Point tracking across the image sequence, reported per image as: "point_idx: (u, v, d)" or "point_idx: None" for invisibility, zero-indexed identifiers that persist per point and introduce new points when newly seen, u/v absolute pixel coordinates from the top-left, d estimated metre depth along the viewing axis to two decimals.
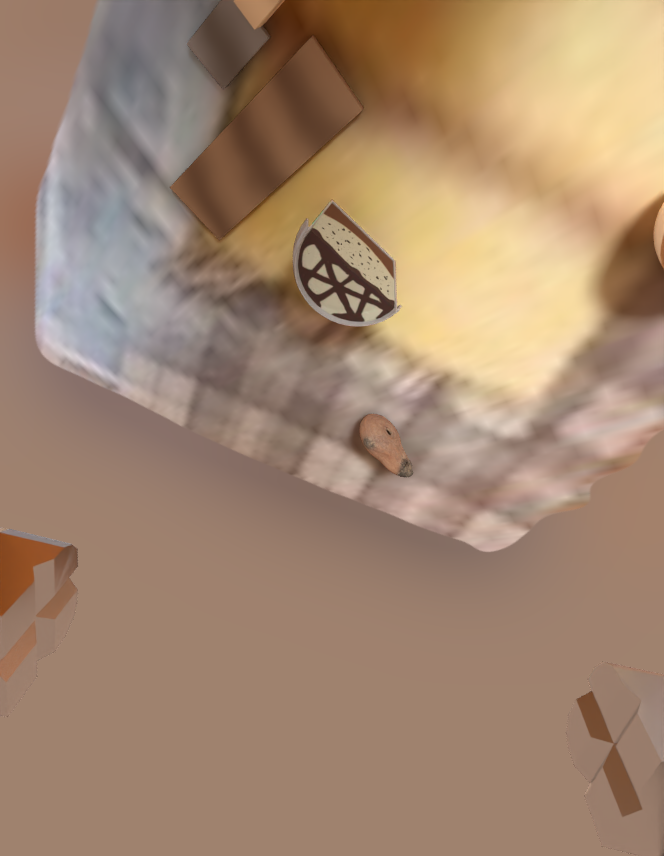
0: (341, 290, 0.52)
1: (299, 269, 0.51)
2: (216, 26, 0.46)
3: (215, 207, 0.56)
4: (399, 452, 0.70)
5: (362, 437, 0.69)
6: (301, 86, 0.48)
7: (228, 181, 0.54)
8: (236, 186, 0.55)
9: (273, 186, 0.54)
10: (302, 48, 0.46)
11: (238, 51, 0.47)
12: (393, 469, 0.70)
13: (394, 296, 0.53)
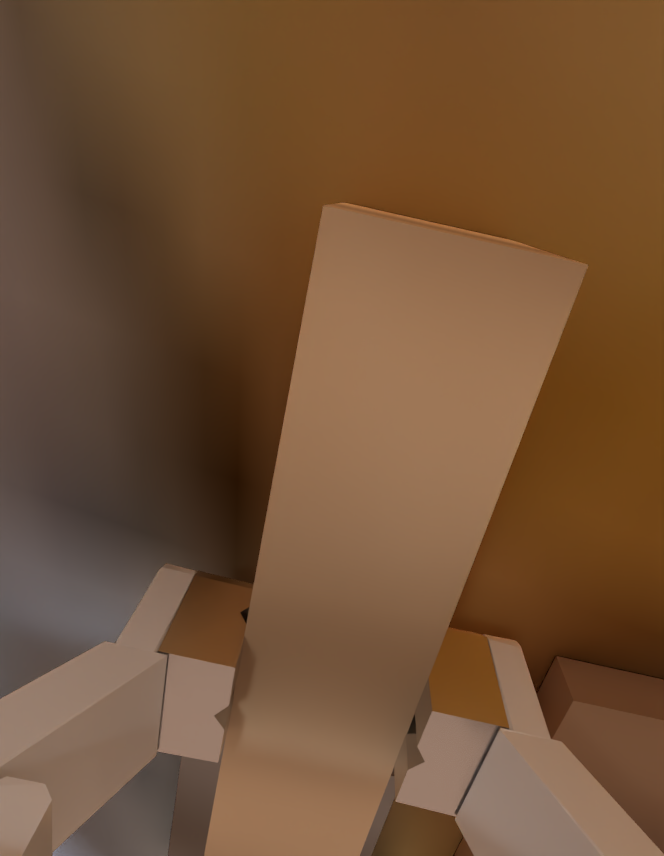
0: None
1: None
2: None
3: None
4: None
5: None
6: None
7: None
8: None
9: None
10: None
11: None
12: None
13: None
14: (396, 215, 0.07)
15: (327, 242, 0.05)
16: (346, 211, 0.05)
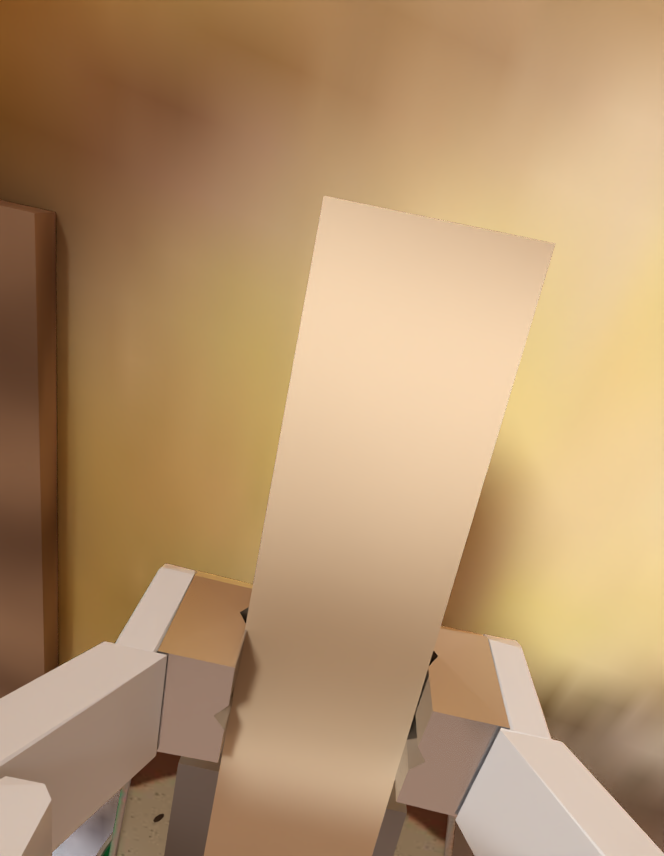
0: None
1: None
2: None
3: None
4: None
5: None
6: None
7: None
8: None
9: (32, 549, 0.19)
10: None
11: None
12: None
13: None
14: None
15: (327, 227, 0.06)
16: (343, 200, 0.05)
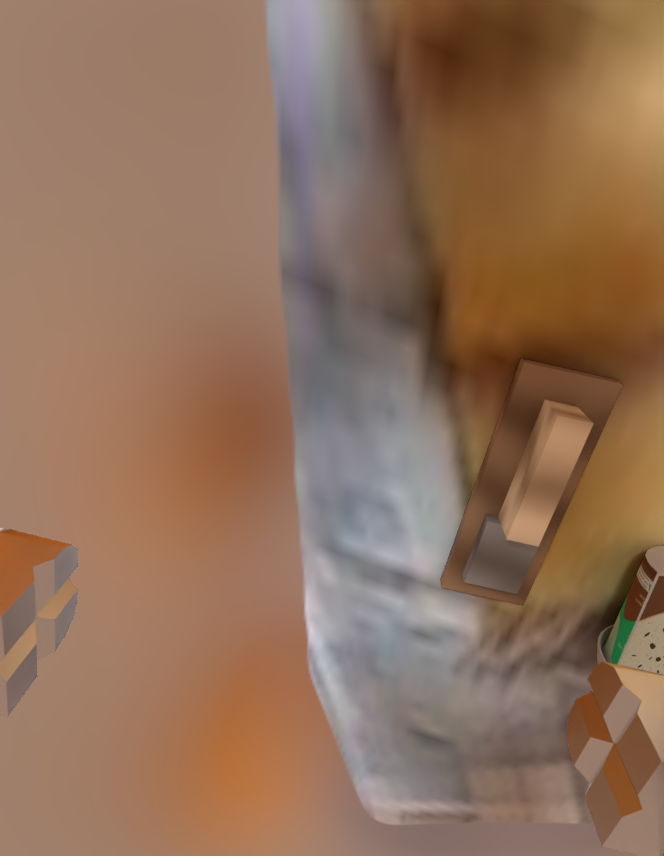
0: None
1: None
2: (487, 554, 0.42)
3: None
4: None
5: None
6: (538, 410, 0.38)
7: None
8: None
9: (558, 517, 0.41)
10: (520, 378, 0.37)
11: (518, 559, 0.42)
12: None
13: None
14: (558, 405, 0.37)
15: (557, 419, 0.35)
16: (561, 416, 0.35)
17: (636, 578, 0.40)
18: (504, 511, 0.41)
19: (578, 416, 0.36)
